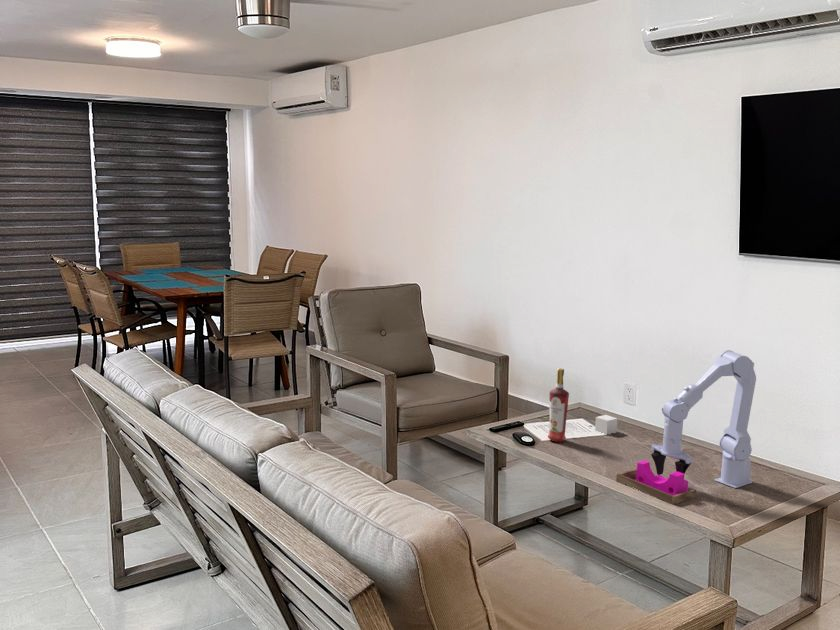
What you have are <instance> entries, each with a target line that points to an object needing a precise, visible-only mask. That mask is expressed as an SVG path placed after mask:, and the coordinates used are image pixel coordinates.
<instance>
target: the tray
mask: <svg viewBox="0 0 840 630" xmlns="http://www.w3.org/2000/svg"><path fill="white" fill-rule="evenodd" d="M636 474H637V468H634V469H630V470H626V471H622V472H619V473H616V479H615V481H616V482H617V481H618V482H617V483H619V482H621V483H620V484H622V483H623V484H622V485H624V484H626V485H625V486H627V485H628V486H627V487H629V486H631V487H634V488H636V489H638V490H637V491H639V490H640V491H639V492H641V491H642V492H641V493H643V492H645V493H644V494H646V493H647V494H646V495H648V494H649V496H651V497H653V498H655V497H656V499H658V500H660V501H662V502H665V503H668V504H670V505H677V504H680V503H683V502H686V501H689V500H692V499H695V498H696V492H697V491H696V489H690V490H688V491H686V492H683V493H680V494H677V495H674V496H673V495H670V494H668V493H665V492H663V491H660V490H658V489H655V488H653V487H650V486H648V485H645V484H643V483H641V482H638V481H636V479H634V478H636ZM631 487H630V488H631ZM634 488H633V489H634ZM636 489H635V490H636Z"/></svg>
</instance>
